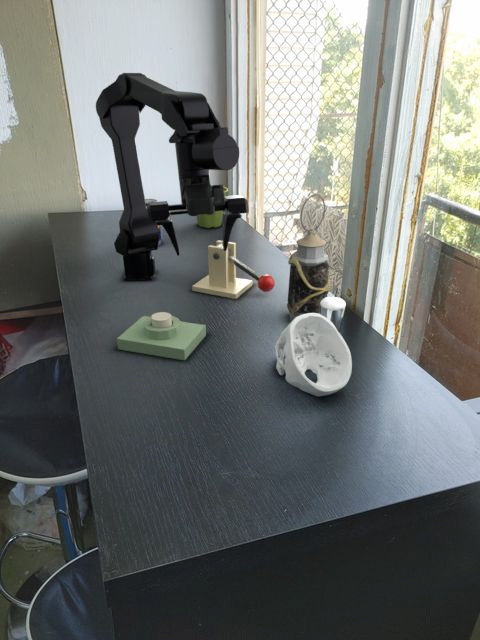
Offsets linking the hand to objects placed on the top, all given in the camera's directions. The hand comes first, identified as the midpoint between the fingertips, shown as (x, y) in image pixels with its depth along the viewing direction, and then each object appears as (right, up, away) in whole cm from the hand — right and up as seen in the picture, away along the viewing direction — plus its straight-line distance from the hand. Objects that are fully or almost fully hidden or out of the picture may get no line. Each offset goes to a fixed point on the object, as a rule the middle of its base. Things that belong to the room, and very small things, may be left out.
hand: (201, 252), depth 102 cm
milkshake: (+24, -18, -4) cm, 31 cm away
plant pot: (-5, +20, +63) cm, 66 cm away
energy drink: (-19, +11, +45) cm, 50 cm away
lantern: (+21, -13, +4) cm, 25 cm away
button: (-6, -15, -8) cm, 17 cm away
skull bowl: (+19, -24, -16) cm, 35 cm away
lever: (+7, -2, +14) cm, 16 cm away
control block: (-7, -18, -6) cm, 20 cm away
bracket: (+3, -5, +18) cm, 18 cm away
